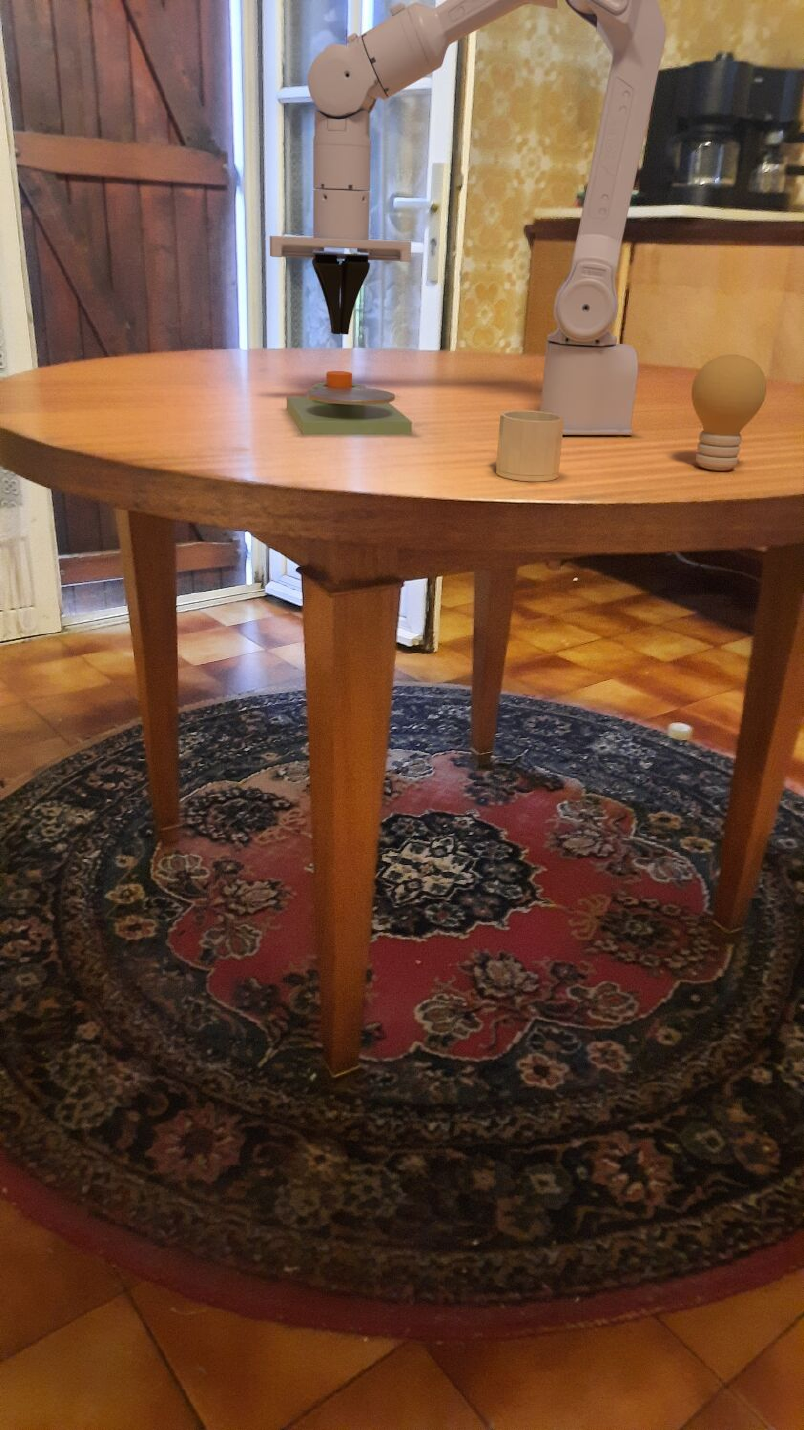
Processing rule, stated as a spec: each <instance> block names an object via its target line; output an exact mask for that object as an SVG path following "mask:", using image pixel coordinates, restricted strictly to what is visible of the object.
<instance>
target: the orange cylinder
mask: <svg viewBox="0 0 804 1430" xmlns="http://www.w3.org/2000/svg"><path fill="white" fill-rule="evenodd" d="M325 375H326V376H325V379H326V380H325V382H326V387H352V383H353V373H352V372H350V371H346V370H345V371H343V370H329V371H327V372H326V373H325Z"/></svg>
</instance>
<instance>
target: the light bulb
mask: <svg viewBox="0 0 804 1430" xmlns="http://www.w3.org/2000/svg"><path fill="white" fill-rule="evenodd" d="M766 395H767V380H766V376H765V373H764V371H763V369H762V368H761V366H760V365H759V364H758V363H757V362H755V360H753V359H751V358H749V357H747V356H744V355H740V354H724V355H719V356H717V357H715V358H712V359H710V360H708V361H707V362H706V363H705V364H703V366H702V367H701V368H700V369H699V371H698V372H697V374H696V376H695V377H694V380H693V381H692V387H691V402H692V406H693V409H694V411H695V414H696V416H697V417H698V419H699V421H700V423H701V425H702V429H703V430H702V431H700V433H699V436H698V439H699V442H698V444H697V453H696V454H695V462H696V463H697V464H698V466H699V467H701V468H703V469H706V470H710V471H719V472H720V471H723V472H724V471H730V470H732V469H733V468H735V467H736V466H737V465H738V461H739V457H738V455H739V454H740V451H741V447H740V445H741V443H742V441H743V439H742V438H743V437H742V435H741V434H740V433H741V431H742V430H743V429H744V428H745V427H746V426H747V424H748V423H750V422H751V420H752V419H753V418H754V417H755V416H756V415H757V414H758V412H759V411H760V409H761V407H762V406H763V404H764V401H765V398H766Z"/></svg>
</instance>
